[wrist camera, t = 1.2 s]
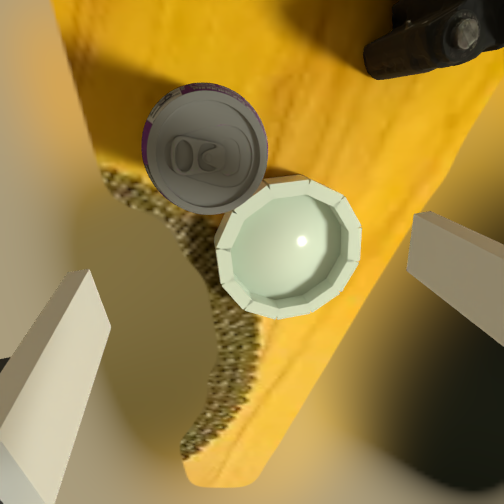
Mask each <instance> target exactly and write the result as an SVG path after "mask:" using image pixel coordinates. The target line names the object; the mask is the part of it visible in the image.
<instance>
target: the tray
mask: <svg viewBox="0 0 504 504" xmlns="http://www.w3.org/2000/svg"><path fill="white" fill-rule="evenodd" d="M360 226H361V224H360V222H359V221H358V219H357V217H356V215H355V213H354V212H353V210H352V208H351V206H350V204H349V203H348V201H347V199H346V197H345V196H343V195H342V194H340V193H338V192H336V191H335V190H333V189H331V188H329V187H326V186H324V185H322V184H320V183H318V182H316V181H314V180H312V179H310V178H308V177H306V176H303V175H300V174H299V175H291V176H283V177H275V178H266V179H263V181H262V182H261V183H260V185H259V187H258V189H257V190H256V191H255V193H254V194H253V195H252V196H251V197H250V198H249V199H248V200H247V201H246V202H245V203H243V204H242V205H240V206H239V207H237V208H235V209H233V210H231V211H228V212H225V214H224V216H223V218H222V221H221V223H220V225H219V227H218V230H217V232H216V234H215V237H214V239H215V240H214V245H215V252H216V259H217V267H218V273H219V278H220V283H221V285H222V287H223V288H224V289H225V290H226V291H227V292H228V293H229V294H230V296H231V297H232V298H233V299H234V300H235V301H236V302H237V303H238V304H239V306H240V307H241V308H242V309H244V310H245V311H248V312H251V313H255V314H258V315H262V316H265V317H268V318H272V319H276V317H277V320H278V319H284V318H289V317H294V316H300V315H305V314H310V311H311V312H314V311H315V310H317V309H318V308H320V307H321V306H323V305H324V304H325V303H327V302H328V301H330V300H331V299H333V298H334V297H336V296H337V295H339V294H340V293H339V291H341V292H342V290H343V289H344V287H345V285H346V284H347V282H348V280H349V279H350V277H351V275H352V274H353V272H354V270H355V269H356V267H357V266H358V264H359V263H358V262H357V261H360V249H361V233H362V228H361V227H360Z"/></svg>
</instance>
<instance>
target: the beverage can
mask: <svg viewBox="0 0 504 504" xmlns="http://www.w3.org/2000/svg"><path fill="white" fill-rule="evenodd" d="M142 157H143V162H144V166H145V168H146V171H147V173H148V176H149V178H150V179H151V181H152V183H153V184H154V186H155V187H156V188H157V190H158V191H159V192H160V193H161V194H162V195H163V196H164V197H165V198H166V199H168V200H169V201H170V202H172V203H173V204H175V205H177V206H179V207H181V208H182V209H185V210H187V211H190V212H193V213H197V214H204V215H214V214H221V213H225V212H228V211H231V210H233V209H235V208H237V207H239V206H240V205H242V204H243V203H245V202H246V201H247V200H248V199H249V198H250V197H251V196H252V195H253V194H254V193H255V191H256V190H257V189H258V187H259V185H260V183H261V182H262V179H263V177H264V174H265V171H266V166H267V158H268V143H267V136H266V132H265V129H264V126H263V124H262V121H261V119H260V117H259V116H258V114H257V112H256V111H255V110H254V108H253V107H252V106H251V105H250V104H249V103H248V102H247V101H246V100H245V99H244V98H243V97H242V96H240V95H239V94H238V93H236V92H235V91H233V90H231V89H229V88H226V87H224V86H221V85H217V84H213V83H192V84H188V85H184V86H181V87H179V88H176V89H174V90H173V91H171V92H169V93H168V94H167V95H165V96H164V97H163V98H162V99H161V100H160V101H159V102H158V103H157V104H156V105H155V106H154V108H153V109H152V111H151V112H150V114H149V116H148V118H147V121H146V123H145V126H144V130H143V134H142Z"/></svg>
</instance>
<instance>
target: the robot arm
mask: <svg viewBox="0 0 504 504" xmlns="http://www.w3.org/2000/svg"><path fill="white" fill-rule="evenodd" d="M407 271H408V272H409V273H410V274H411V275H413V276H414V277H415V278H417V279H418V280H419V281H420V282H422V283H423V284H424V285H426V286H427V287H428V288H429V289H431V290H432V291H433V292H434V293H436V294H437V295H438V296H440V297H441V298H442V299H443V300H445V301H446V302H447V303H449V304H450V305H451V306H452V307H454V308H455V309H456V310H458V311H459V312H460V313H461V314H463V315H464V316H465V317H466V318H468V319H469V320H471V321H472V322H473V323H474V324H475V325H477V326H478V327H479V328H481V329H482V330H483V331H484V332H486V333H487V334H488V335H490V336H491V337H492V338H493V339H495V340H496V341H497V342H499V343H500V344H501V345H502V346H504V245H502V244H501V243H498V242H496V241H494V240H492V239H490V238H488V237H486V236H483V235H481V234H479V233H477V232H475V231H472V230H470V229H468V228H466V227H464V226H462V225H460V224H457V223H455V222H453V221H451V220H449V219H446V218H444V217H442V216H440V215H438V214H436V213H434V212H431V211H429V212H423V213H417V214H414V218H413V225H412V233H411V241H410V248H409V256H408V263H407ZM110 329H111V326H110V323H109V321H108V318H107V315H106V312H105V310H104V307H103V304H102V302H101V299H100V296H99V294H98V291H97V288H96V286H95V283H94V280H93V278H92V275H91V272H90V270H89V269H86V270H80V271H74V272H68V273H67V274H66V276H65V277H64V279H63V280H62V282H61V283H60V285H59V286H58V288H57V289H56V291H55V292H54V294H53V295H52V297H51V298H50V300H49V301H48V303H47V304H46V306H45V307H44V309H43V310H42V312H41V313H40V315H39V316H38V318H37V319H36V321H35V322H34V324H33V325H32V327H31V328H30V330H29V331H28V332H27V334H26V335H25V337H24V338H23V340H22V341H21V343H20V345H19V346H18V347H17V349H16V351H15V352H14V353H13V355H12V356H11V357H9V358H4V359H0V504H55V501H56V497H57V494H58V491H59V488H60V485H61V482H62V479H63V476H64V472H65V469H66V466H67V463H68V460H69V457H70V454H71V450H72V447H73V444H74V441H75V438H76V435H77V432H78V429H79V426H80V423H81V420H82V416H83V413H84V410H85V407H86V404H87V401H88V398H89V395H90V392H91V388H92V385H93V382H94V379H95V376H96V373H97V370H98V367H99V363H100V360H101V357H102V354H103V351H104V348H105V345H106V342H107V339H108V335H109V332H110Z"/></svg>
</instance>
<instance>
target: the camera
mask: <svg viewBox="0 0 504 504" xmlns="http://www.w3.org/2000/svg"><path fill="white" fill-rule="evenodd" d="M392 13H393V16H392V22H393V29H392V31H391V32H389V33H388V34H386V35H384V36H382V37H381V38H379V39H377V40H375V41H373V42H371V43H369V44H368V45H366V46H365V47H364V52H363V56H364V63H365V66H366V69H367V72H368V73H369V74H370V75H371V76H372V77H373V78H374V79H376V80H384V79H391V78H397V77H402V76H408V75H414V74H420V73H425V72H430V71H432V70H434V69H436V68H444V67H449V66H456V65H460V64H463V63H465V62H468V61H470V60H472V59H474V58H476V57H477V56H478V55H479V54H480V53H481V52H486V51H492V50H497V49H500V48H503V47H504V0H399V2H398V3H396V4H394V5H393V7H392Z"/></svg>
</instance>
